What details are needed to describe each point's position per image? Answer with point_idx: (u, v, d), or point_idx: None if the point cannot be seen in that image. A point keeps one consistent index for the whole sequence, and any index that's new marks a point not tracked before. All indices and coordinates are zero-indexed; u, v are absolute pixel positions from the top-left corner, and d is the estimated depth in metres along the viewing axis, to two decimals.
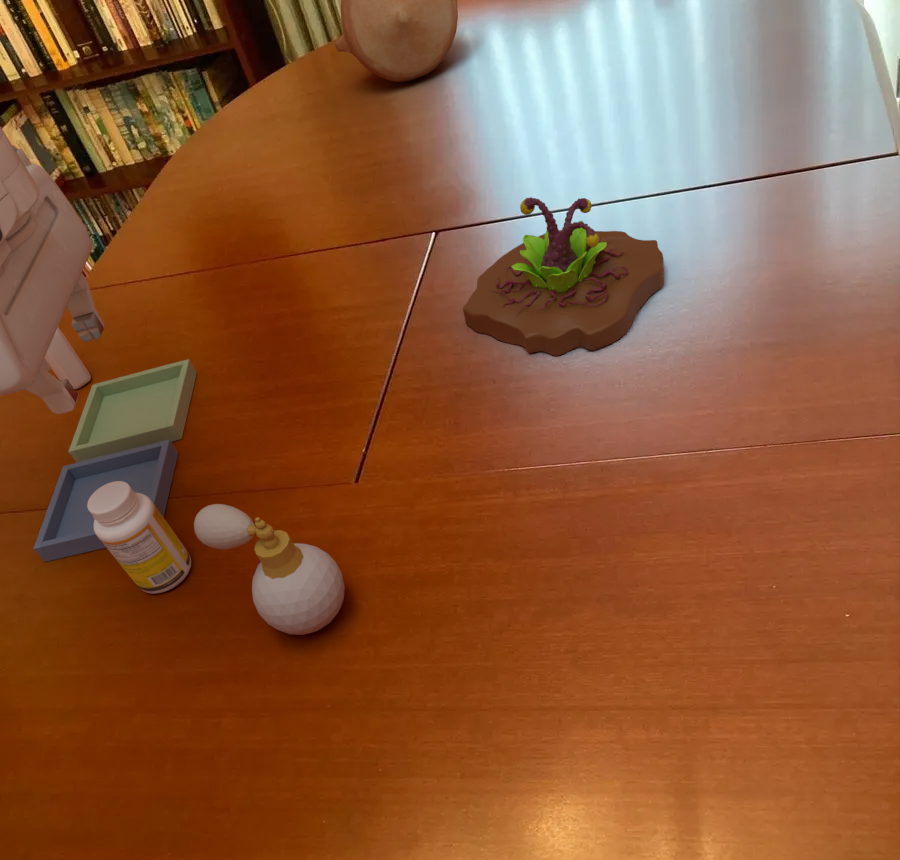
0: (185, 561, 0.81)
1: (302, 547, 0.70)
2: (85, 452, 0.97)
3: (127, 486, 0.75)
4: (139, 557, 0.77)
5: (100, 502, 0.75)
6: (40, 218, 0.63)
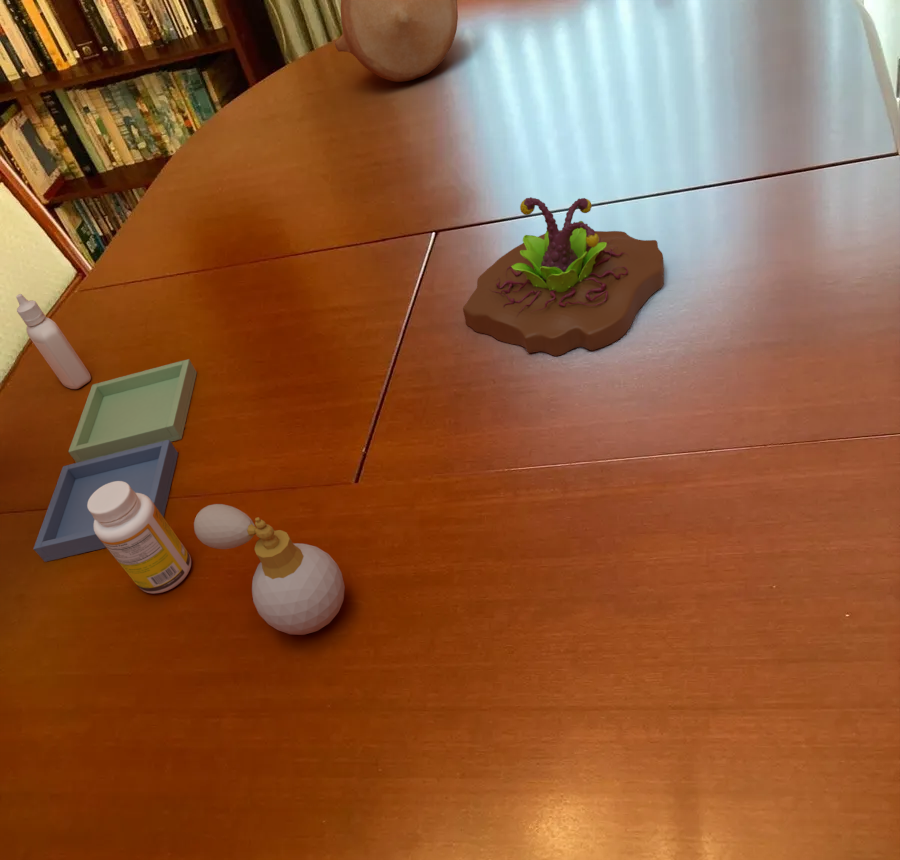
0: (185, 561, 0.81)
1: (302, 547, 0.70)
2: (85, 452, 0.97)
3: (127, 486, 0.75)
4: (139, 557, 0.77)
5: (100, 502, 0.75)
6: None
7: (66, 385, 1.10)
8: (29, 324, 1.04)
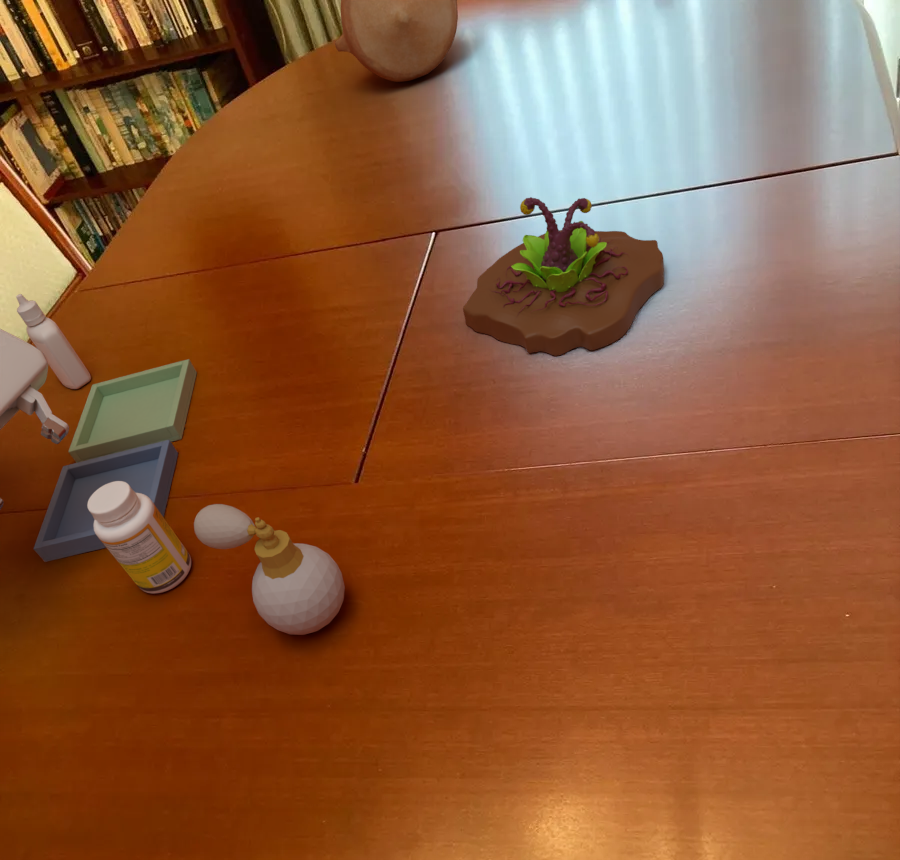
0: (185, 561, 0.81)
1: (302, 547, 0.70)
2: (85, 452, 0.97)
3: (127, 486, 0.75)
4: (139, 557, 0.77)
5: (100, 502, 0.75)
6: None
7: (66, 385, 1.10)
8: (29, 324, 1.04)
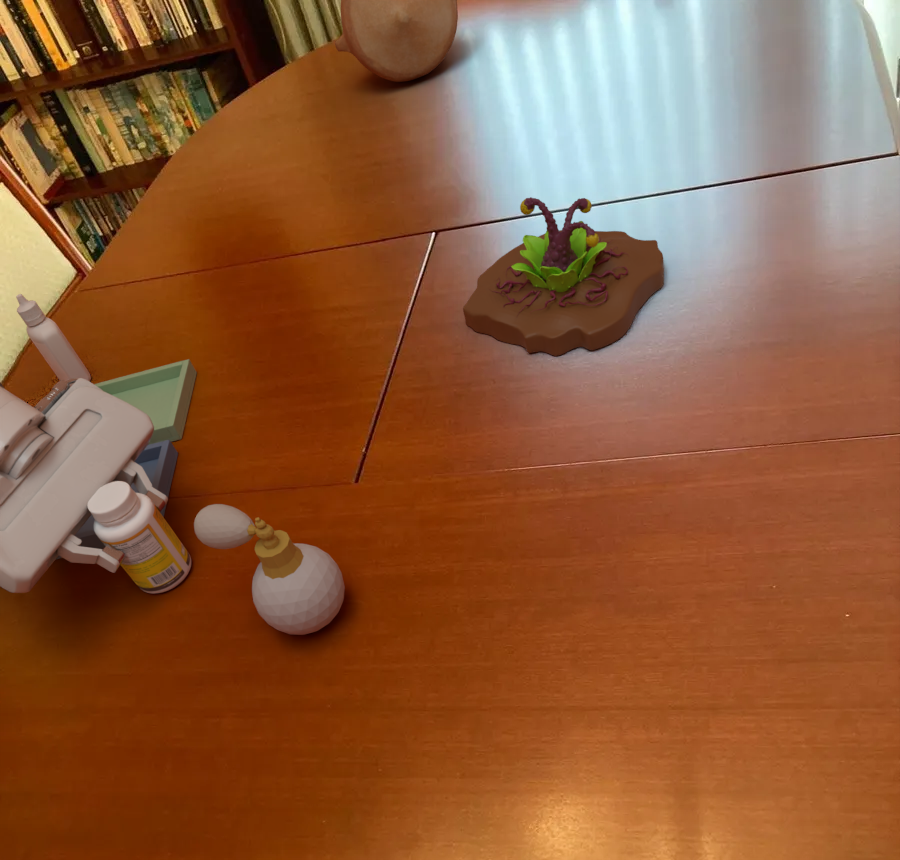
0: (185, 561, 0.81)
1: (302, 547, 0.70)
2: None
3: (127, 486, 0.75)
4: (139, 557, 0.77)
5: (100, 502, 0.75)
6: (76, 430, 0.77)
7: None
8: (29, 324, 1.04)
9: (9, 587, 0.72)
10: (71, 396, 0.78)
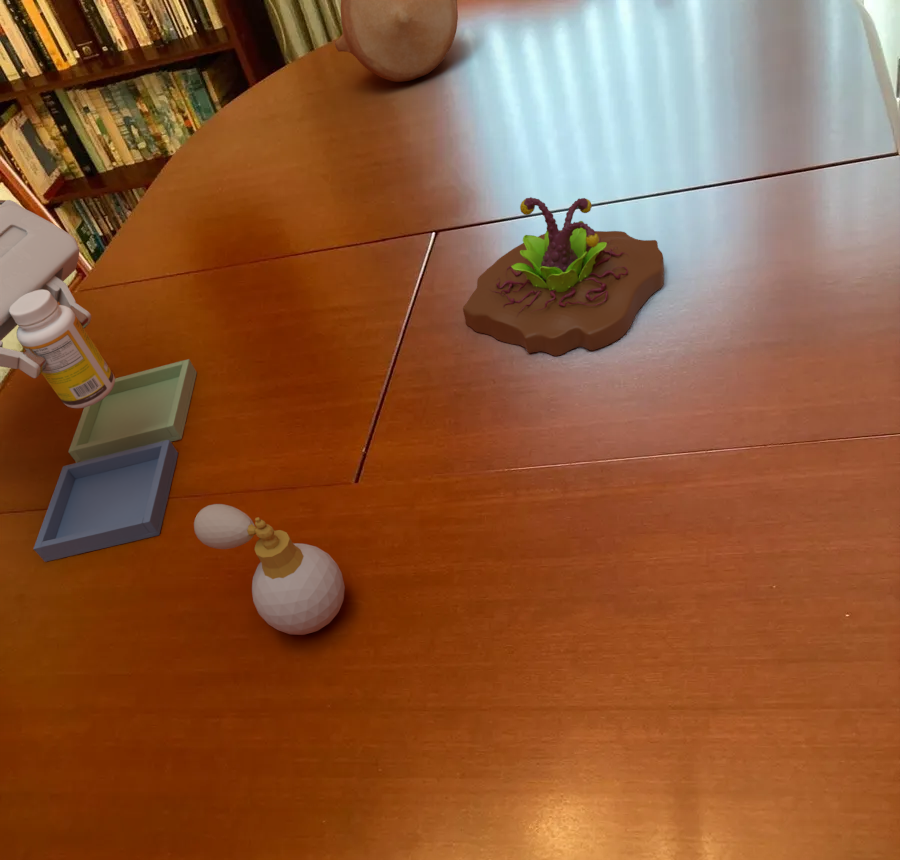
0: (108, 377, 0.85)
1: (302, 547, 0.70)
2: (85, 452, 0.97)
3: (48, 292, 0.79)
4: (60, 365, 0.81)
5: (21, 306, 0.78)
6: (1, 243, 0.81)
7: None
8: None
9: None
10: None
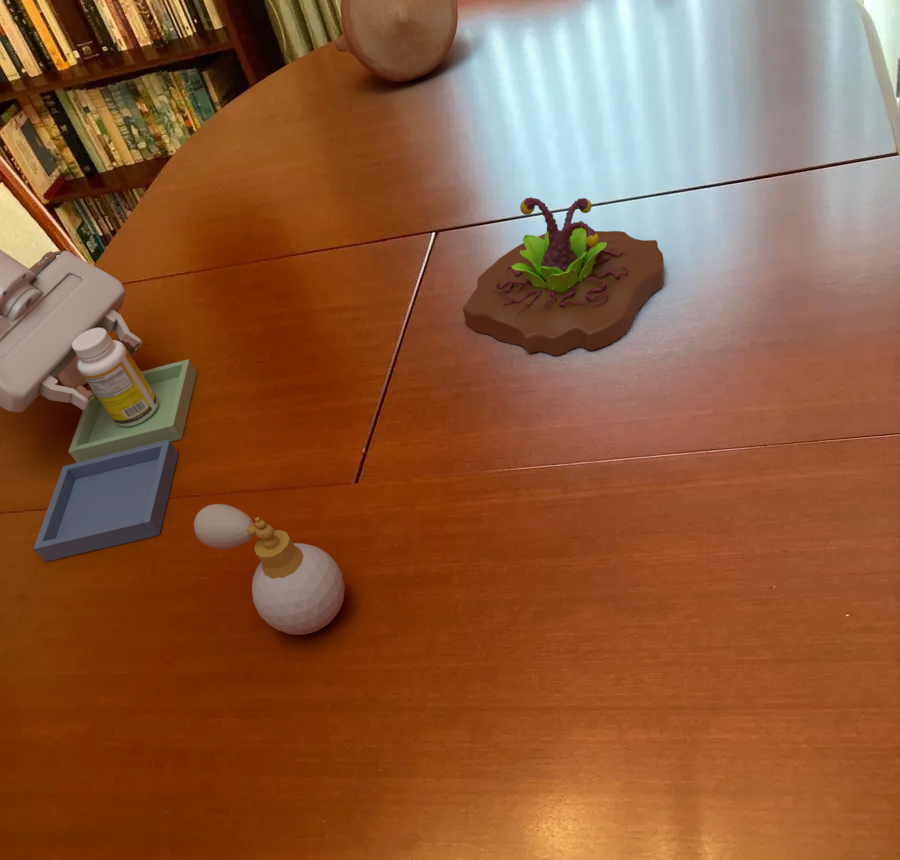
0: (152, 400, 1.00)
1: (302, 547, 0.70)
2: (85, 452, 0.97)
3: (104, 330, 0.94)
4: (114, 390, 0.96)
5: (82, 342, 0.94)
6: (61, 289, 0.96)
7: (66, 385, 1.10)
8: None
9: (7, 405, 0.91)
10: (57, 262, 0.97)
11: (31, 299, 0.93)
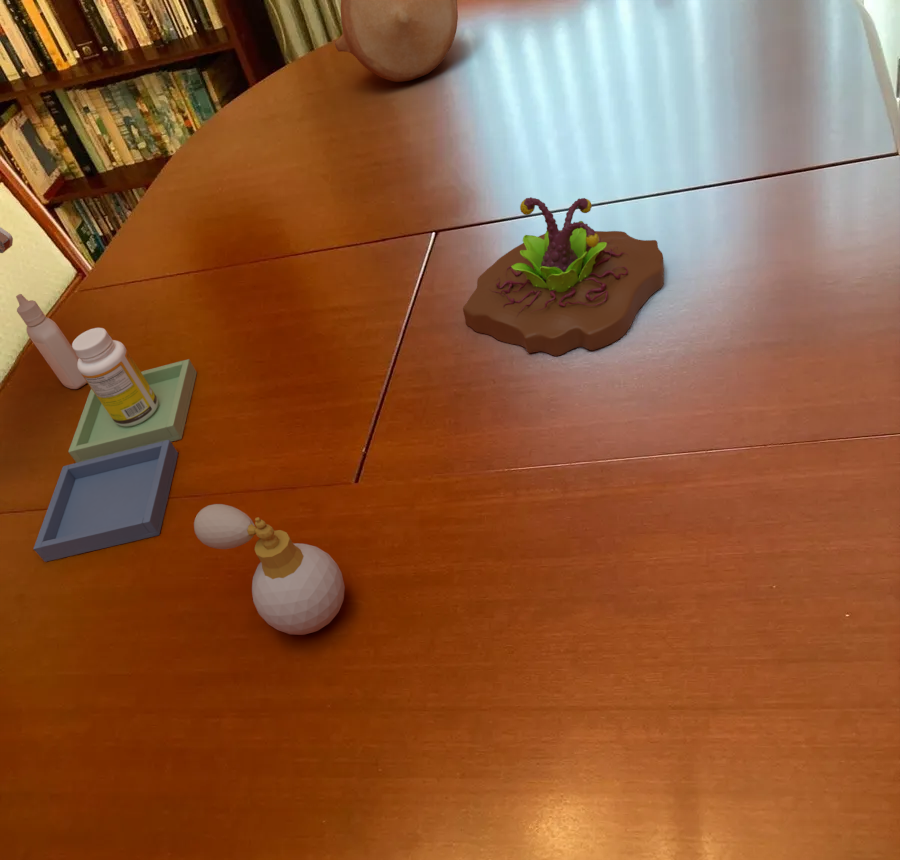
0: (152, 400, 1.00)
1: (302, 547, 0.70)
2: (85, 452, 0.97)
3: (104, 330, 0.94)
4: (114, 390, 0.96)
5: (82, 342, 0.94)
6: None
7: (66, 385, 1.10)
8: (29, 324, 1.04)
9: None
10: None
11: None
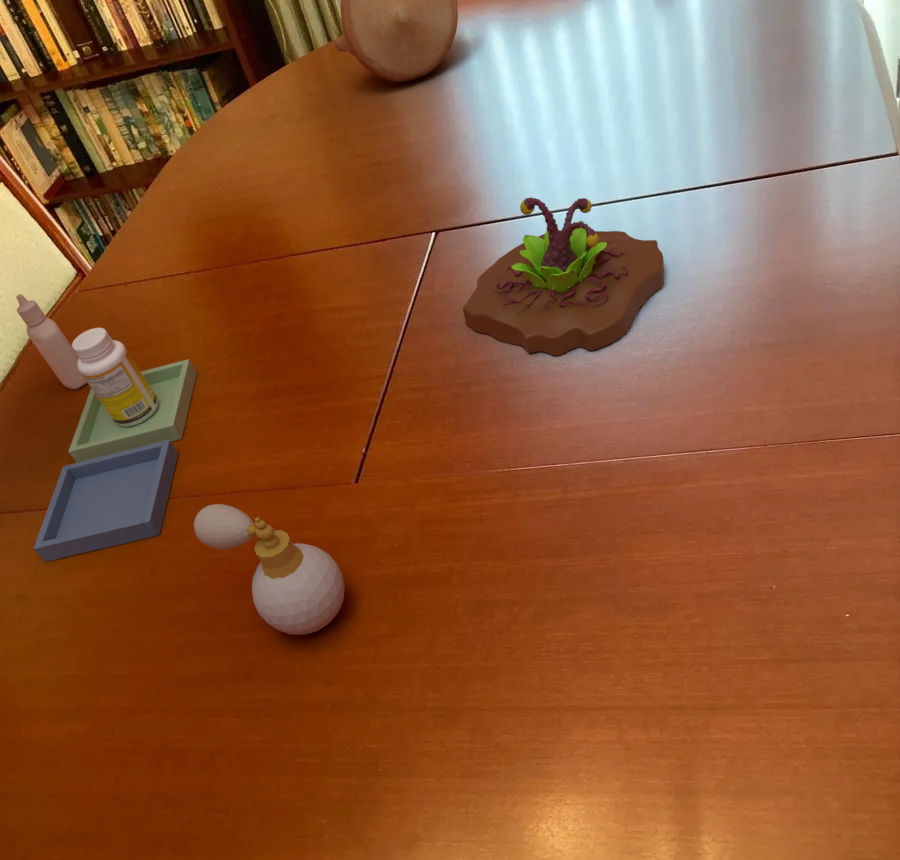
0: (152, 400, 1.00)
1: (302, 547, 0.70)
2: (85, 452, 0.97)
3: (104, 330, 0.94)
4: (114, 390, 0.96)
5: (82, 342, 0.94)
6: None
7: (66, 385, 1.10)
8: (29, 324, 1.04)
9: None
10: None
11: None
